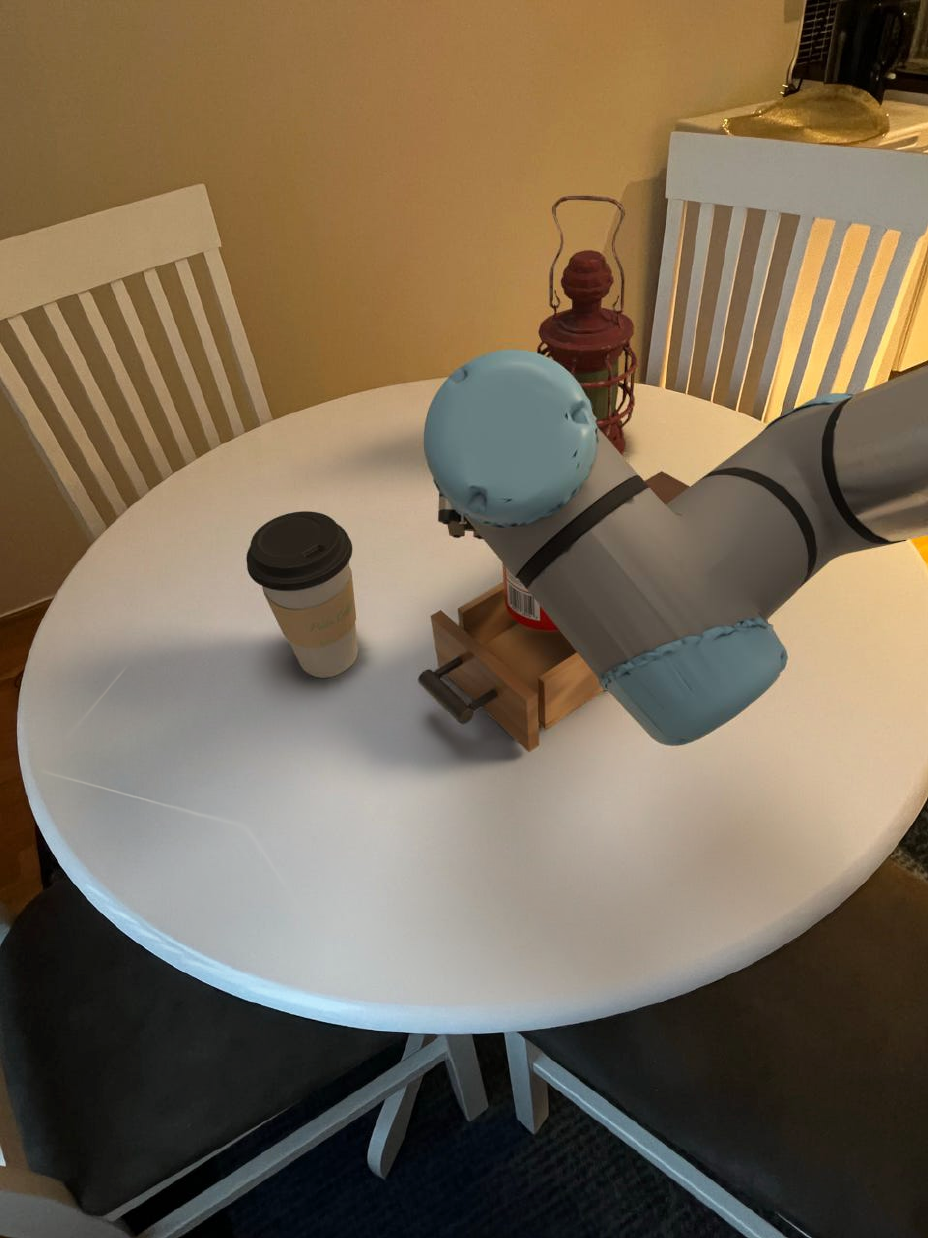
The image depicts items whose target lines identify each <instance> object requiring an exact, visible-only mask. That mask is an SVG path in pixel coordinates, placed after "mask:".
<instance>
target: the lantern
mask: <svg viewBox="0 0 928 1238" xmlns="http://www.w3.org/2000/svg"><path fill="white" fill-rule="evenodd" d="M567 201H591V202H607V203H610V204H612V205H615V206H616V207H617V208H618V210H619V211H620V217H619V218H620V219H619V222H618V224H617V227H616V229H615V231H614V233H613V235H612V239H611V241H612V242H611V250H612V255H613V257H614V260H615V262H616V264H617V267H618V269H619V272H620V279H621V283H620V284H621V285H620V288H621V289H620V295H619V294H618V295H617V297H616V300H615V301H614V302H613V304H612V305H611V306H612V309H609V308H606V307H602V303H603V299H604V298H605V297H607V295H608V294H610V289H611V288H612V285H613V284H614V276H613V271H612V269H611V267H610V265H609V263H608V262H607V259H606V257H605V256H604V255H603V253H601V252H600V251H597V250H592V249H585V250H581V251H577V252H575V253H574V254H573V255H572V256H571V257H570V258H569V260H568V265H566V267H564V269H563V271H562V277H561V279H560V286H561V288H562V290H563V294H564V295H565V297H567V298H568V299H569V300H571V308H569V309H565V310H562V311H558V312H557V310H558V308H559V307H560V305H561V303H562V302H561V299H560V298H559V297H558V295H557V290H556V289H554V269H555V265H556V263H557V261H558V260H559V257H560V255H561V254H562V251H563V248H564V234H563V231H562V228H561V226H560V224H559V221H558V217H557V210H556V209H557V207H559V205H560V204H561V203H563V202H564V203H565V202H567ZM551 214H552V218H553V220H554V223H555V225H556V227H557V229H558V232H559V237H560V245H559V249H558V251H557V253H556V256H555V258H554V260H553V261H552V263H551V266H550V268H549V277H548V278H549V279H548V280H549V284H548V285H549V286H548V287H549V288H548V289H549V292H548V293H549V294H548V295H549V307H550V308H551V309H553V312H554V313H553V314H552V315H549V316H548V317H547V318H545V319H544V320H543V321H542V322H540V326H539V329H538V331H537V332H538V336H539V339H540V340H541V342H540V343H539V344H538V346H537V349H536V353H538V354H541V355H544V356H546V357H548V358H551V359H552V360H554V361H556V362H557V363H558V364H560V365H561V366H563V367H564V368H565V369H566V370H567V371H568V372H570V373H571V375H572V376H573V377H574V378H575V379H576V380H577V382H578V383H579V384H580V386H581V388H582V389H583V391H584V393H585V395H586V396H587V398H588V399H589V400H590V402H591V403H592V412H593V415H594V416H595V417H596V418H597V427H598V428H599V429H600V430H601V432H602V433H603V434H604V435H605V436H606V437H607V439H608V440H609V441H610V442H611V443H612V444H613V446H614V447H615V448H616V449H617V450H618V452H619V453H620V454H621V455H622V456H623V454H624V452H625V449H626V446H627V445H626V444H627V443H626V440H625V433H624V426H626V424H627V423H629V421H631V419H632V415H633V412H634V407H635V404H636V403H635V402H636V398H635V394H634V390H635V389H634V387H635V378H636V377H635V375H636V369H637V368H638V357H637V354H636V353H635V352H634V350H633V348H632V347H631V339H632V337H633V336H634V334H635V324H634V322H633V320H632V319H631V318H630V317H629V316H627V315H625V314H624V312H625V284H626V283H625V280H626V277H625V272H624V271H625V270H624V269H623V266H622V264H621V262H620V259H619V257H618V254H617V253H616V247H615V242H616V236H617V234H618V232H619V230H620V228H621V226H622V224H623V223H624V219H625V215H626V209H625V208H624V206H623V205H622V204H621V203H620V202H618V200H616V199H614V198H611V197H606V196H596V195H567V196H563V197H560V198H559V199H558V200H556V202H554V204H553V205H552V207H551ZM554 295H555V298H556V301H557V304H553V300H554ZM619 297H620V310H616V308H615V307H616V305H617V303H618V301H619ZM543 345H546V347H544V348H543V349H542V347H543ZM623 353H624V356H625V357H624V370H623V373H622V374H620V375H619V366H620V365H619V363H620V362H619V359H620V357H621V356H622V355H623ZM629 357H630V358H631V360H630V361H631V363H630V365H629V359H630V358H629ZM629 377H630V386H629V381H628V378H629ZM621 381H623V382H621ZM619 388H620V389H621V390H622V399H621V402H620V404H619V405H618V406H617V400H618V395H619ZM627 396H628V399H629V401H628V404H627V405H626V406H627V407H626V408H625V409H624V411H622V412H620V410H621V409H622V407H623V406H624V404H625V403H626V400H627ZM626 416H627V418H626V419H625V420H624V421H623V420H621V419H623V418H625V417H626Z"/></svg>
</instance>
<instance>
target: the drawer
mask: <svg viewBox="0 0 928 1238" xmlns="http://www.w3.org/2000/svg"><path fill="white" fill-rule="evenodd" d="M457 617H458V624H457V622H455V621H454V620H453V619H452V618H451V617H449V616H448V615H447V614H446V613H445V612H444V611H443V610H442V609H439V610H438V611H436V612H435V613H432V614H431V615H430V623H431V628H432V636H433V642H434V648H435V655H436V661H437V667H438V668H437V669H435V670H433V669H431V668H430V669H429V668H428V669H425V670H424V671H422V672H421V673H420V675H418V679H417V682H418V684H419V685H420V686H421V687H422V688H423V689H424V690H425V691H426V692H427V693H428V694H429V695H430V696H431V697H432V698H433V699H434V700H435V701H436V702H437V703H438V704H439V705H440V706H441V707H442V708H443V709H444V710H445V711H446V712H447V713H448V714H449V715H450V716H451V717H452V718H453V719H454V720H455V721H456V722H457V723H458V724H460V725H465V724H467V723H469V722H470V721H471V720H472V719H473V716H474V715H475V712H476V711H478V710H479V709H483V710H484V711H485V712H486V714H488V715H489V716H490V717H491V718H492V719H493V720H494V721H495V722H496V723H497V724H498V725H499V726H500V727H501V728H503V730H504V731H506V732H507V734H509V736H511V738H513V739H514V740H515V741H516V742H517V743H518V744H519V745H520V746H521V747H522V748H524V750H526V751H527V752H528V753H530V752H532V751H533V750H535V749H536V748H537V747H539V746H540V734H539V733H540V732H539V731H540V729H539V726H540V727H541V728H542V729H543V730H544V731H547V730H548V729H549V728H551V727H552V726H554V725H555V724H557V723H559V721H561V720H562V719H564V718H565V717H567V716H568V715H569V714H571V713H573V712H574V711H575V710H577V709H579V708H580V707H582V706H583V705H584V704H586V703H587V702H589V701H590V700H592V699H593V698H595V697H596V696H597V695H598V694H600V693H602V692H603V691H605V690H604V689H603V688H602V687H601V685H600V684H599V682H598V681H599V679H598V678H597V676H596V675H595V674H594V673H593V671H592V670H591V669H590V668H589V666H588V665H587V664H586V663H585V661H584V660H583V659H582V658H581V656H580V655H579V654H578V653H577V651H576V650H575V649H574V648H573V646H572V645H571V644H570V643H569V641H568V640H567V639H566V638H565V636H564V635H563V634H562V633H561V631H560V630H559V631H539V630H534V629H530V628H528V627H525V626H523V625H521V624H520V623H518V622H517V621H516V620H514V619H513V618H512V617H511V615H510V614H509V613H508V611H507V608H506V605H505V598H504V583H503V581H502V582H500V583H499V584H497V585H496V586H494V587H492V588H491V589H488V590H487V591H485V592H484V593H482V594H480V595H478V596H476V597H475V598H473V599H471V600H470V601H468V602H466V603H465V604H463V605H461V606H459V607H458V608H457ZM444 676H448V677H449V679H450V680H452V682H454V683H455V684H456V685H457V687H459V688H460V689H461V690H462V691H463V692H464V693H465V694H466V695H467V696H469V697H470V698H471V699H472V701H471V702H470V703H467V702H466V701H465V700H464V699H463V698H462V697H460V696H459V695H458V694H457V693H456V692H455V691H454V690H453V689H452V688H451V687H450V686H449V685H448V684H447V683H446V682H445V681H443V679H441V678H443V677H444Z"/></svg>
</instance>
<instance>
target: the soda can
mask: <svg viewBox="0 0 928 1238" xmlns="http://www.w3.org/2000/svg"><path fill="white" fill-rule="evenodd" d="M501 564H502V582H503V583H504V598H505V605H506V608H507V611H508V613H509V614H510V615H511V617H512V618H513V619H514V620H516V621H517V622H518V623H520V624H521V625H523V626H525V627H528V628H530V629H534V630H539V631H559V629H558V628H557V626H556V625H555V624H554V623H553V621H552V620H551V619H550V618H549V616H548V615H547V614H546V613H545V611H544V610H543V609H542V607H541V606H540V605H539V604H538V602H537V601H536V600H535V599H534V597H533V596H532V595H531V594H530V592H529V591H528V589H526V588H525V587H524V585H523V584H522V583H521V582H520V580H519V579H517V578H515V577H514V576H513V575H512V574H511V572H510V571H509V570H508V569H507V567H506V566H505V565H504V564H503V563H502V562H501Z"/></svg>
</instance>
